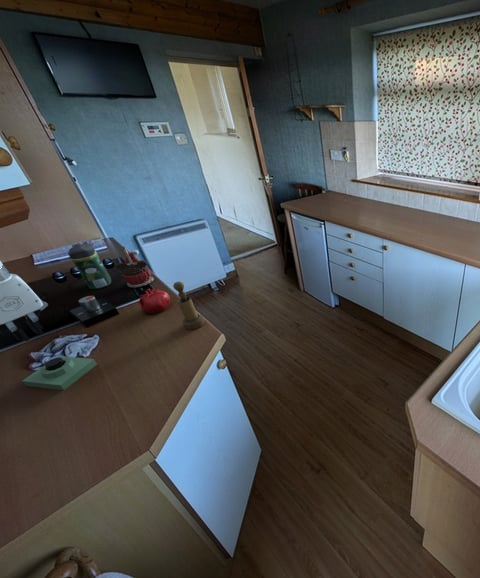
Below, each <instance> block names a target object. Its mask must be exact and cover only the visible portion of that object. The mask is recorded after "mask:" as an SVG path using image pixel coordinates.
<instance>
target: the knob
mask: <svg viewBox="0 0 480 578" xmlns="http://www.w3.org/2000/svg"><path fill="white" fill-rule="evenodd" d="M97 300H98V299H96V297H95V295H88V296H87V295H86V296H84V297H82V298H80V299H79V300H78V303H79V305H80V306H82V308H83V309H84V311H85V312H93V311H96V310H98V309H99V308H100V305H99V304H98V302H97Z"/></svg>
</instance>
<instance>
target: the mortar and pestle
mask: <svg viewBox="0 0 480 578" xmlns="http://www.w3.org/2000/svg"><path fill="white" fill-rule="evenodd" d="M172 286H173V290H175V291H177V292H178V294H177V296H178V297H179V298H178V300H177V303H178V305H179V308H180V310H181V312H182V314H183V317H184V318H183V320H182V325H183V328H184V329H186V330H188V331H193V330H196V329H199V328H201V327H202V326H204V324H205V319H204V316H203V315H202V314H200V315H199V313H198V312H197V310H196V307H195V304H194V303H193V300H192V298H191V296H187V293H186V291H184V289H185V284H184V282H182V281H176V282H174V283H173V285H172Z"/></svg>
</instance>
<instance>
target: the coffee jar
mask: <svg viewBox="0 0 480 578" xmlns="http://www.w3.org/2000/svg"><path fill="white" fill-rule="evenodd" d="M67 254H68V256H69V258H70V260H71V261H72V262H73V264H74V265H75V267H76V269H77V270H78V272H79V274H80V276H81V277H82V279H83V280H84V282H85V284H86V286H87V287H88V288H89V289H90V290H100V289H103V288H106V287H108V286H111V283H112V277H111V275H110V274H109V272H108V271H107V269H106V267H105V265H104V263H103V262H102V260H101V258H100V256H99V254H98V252H97V251H96V249H95V247H94V246H93V245H92V244H90V243H86V242H85V243H79V244H75V245H73V246H72V247H70V248H69V250H68V252H67Z"/></svg>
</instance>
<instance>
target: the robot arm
mask: <svg viewBox="0 0 480 578" xmlns="http://www.w3.org/2000/svg"><path fill="white" fill-rule="evenodd" d="M47 307H49V303H47V302H46V301H44V300H42V299H41V298H40V297H39V296H38V295H37V294H36V293H35V292H34V290H33V289H32V288H31V287H30V286H29V285H28V284H27V283H26V282H25V281H24V280H23V279H22V278H21V277H20V276H19V275H18V274H16V273H10V272H9V270H8V269H7V268H6V266H5V265H4V264H3V262H2V261H1V260H0V331H9V332H10V333H11V334H12V335H13V336H14V338H15V339H16V340H18V341H20V340H22V341H24V342H29V341H30V340H31V339H30V337H29V336H28V335H27V334H26V332H25V331H24V329H22V328H21V327H19V326H17V325H15V323H14V322H13V321H14V320H17V319H20V318H22V317H25V323H26V324H27V326H28V327H29V328H30V329H31V331H32V332H33V333H34V334H36V335H39V336H40V335H41V336H42V335H44V332H43V330H44V327H43V326H42V324H41V323H40V322H39V317H40V315H41V313H42V311H44V310H45V309H46V308H47Z"/></svg>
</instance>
